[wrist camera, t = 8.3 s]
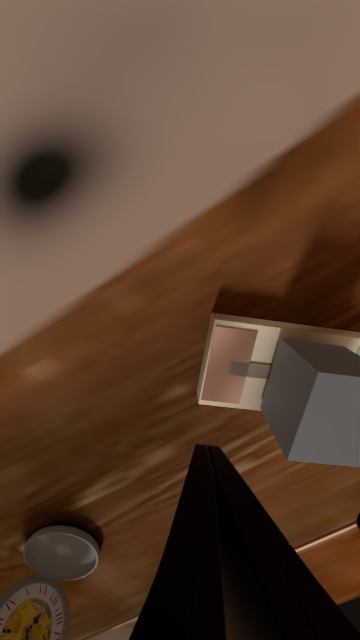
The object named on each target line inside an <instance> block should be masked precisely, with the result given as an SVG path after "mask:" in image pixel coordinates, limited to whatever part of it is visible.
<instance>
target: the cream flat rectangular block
mask: <svg viewBox="0 0 360 640" xmlns="http://www.w3.org/2000/svg"><path fill="white" fill-rule="evenodd" d="M280 338H284V339H292V340H300V341H308V342H315V343H323V344H331V345H339V346H344V347H346V348H348V349H349V350H351V351H353V352H354V353H356V354H358V355H359V356H360V332H353V331H346V330H339V329H331V328H324V327H316V326H309V325H301V324H294V323H286V322H279V321H271V320H264V319H256V318H249V317H241V316H234V315H226V314H219V313H211V317H210V322H209V328H208V333H207V338H206V344H205V349H204V354H203V359H202V365H201V370H200V375H199V381H198V386H197V397H198V404H204V405H213V406H222V407H231V408H240V409H250V410H259V411H261V409H260V406H261V403H262V399H263V396H264V393H265V389H266V386H267V382H268V379H269V375H270V372H271V368H272V365H273V361H274V358H275V354H276V351H277V347H278V344H279V341H280Z"/></svg>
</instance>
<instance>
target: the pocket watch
mask: <svg viewBox="0 0 360 640" xmlns="http://www.w3.org/2000/svg"><path fill="white" fill-rule="evenodd" d="M99 556H100V550H99V547H98V544H97V542H96V541H95V540H94V538H93V537H92V536H91V535H89V534H88V533H86V532H85V531H83V530H80V529H78V528H76V527H70V526H64V525H57V526H49V527H45V528H42V529H40V530H39V531H37V532H35V533H34V534H33V535H32V536H31V537H30V538H29V539H28V540H27V542H26V544H25V547H24V550H23V558H24V561H25V563H26V564H27V565H28V567H29V568H30V569H32V570H33V571H34V572H36V573H37V574H36V576H33V577H29V578H26V579H24V580H22V581H20V582H19V583H17V584H16V585H14V586H12V587H11V588H10V589H9V590H8V591H7V592H6V593H5V594H4V595H3V596H2V597H1V598H0V640H67V638H68V632H69V627H70V608H69V604H68V600H67V596H66V593H65V591H64V590H63V588H62V586H61V585H60V584H59V583H58V582H59V580H60V581H68V580H76V579H80V578H83V577H85V576H87V575H88V574H90V573H92V571H93V570H94V569H95V568H96V567H97V564H98V561H99ZM31 604H36V606H37V605H39V606H40V607H41V608H42V609H43V610H44V618H45V613H46V616H47V620H44V618H41V617H40V615H41V614H42V613H41V614H40V615H38V616H36V614H37V610H35V609H36V606H35V609H34V608H33V607H32V605H31ZM26 605H28V606H27V609H26ZM18 613H20V615H18ZM21 615H22V617H21ZM10 616H13V617H14V618H15V619H17V620H18V623H16V622H15V623H11V625H10V626H9V627H7V626H4V625H5V623H6V621H7V620H8V619H9V617H10ZM38 619H43V620H42V621H38ZM12 624H16V626H15V627H12ZM35 624H40V625H38V626H36V627H34V625H35ZM47 624H48V626H47V627H46V625H47ZM27 625H28V626H27ZM25 626H26V627H25ZM32 626H33V628H32ZM41 626H42V628H40V627H41ZM47 629H48V634H47V632H46V630H47ZM1 632H5V637H3V636H1ZM6 633H10V634H9V635H8V636H7V637H6ZM43 633H44V634H43ZM15 634H16V635H15ZM10 635H11V636H10ZM21 636H22V638H21Z"/></svg>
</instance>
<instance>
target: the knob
mask: <svg viewBox="0 0 360 640" xmlns="http://www.w3.org/2000/svg"><path fill="white" fill-rule="evenodd" d="M260 409H261V411H262V413H263V415H264V417H265V418H266V420H267V422H268V424H269V426H270V428H271V430H272V432H273V434H274V436H275V438H276V440H277V442H278V444H279V446H280V447H281V449H282V451H283V453H284V455H285V457H286V459H287V460H290V461H300V462H310V463H320V464H331V465H341V466H351V467H360V356H359V355H358V354H356V353H354V352H353V351H351V350H349V349H348V348H346V347H344V346H339V345H331V344H323V343H315V342H308V341H300V340H292V339H284V338H280V341H279V344H278V347H277V351H276V354H275V358H274V361H273V365H272V368H271V372H270V375H269V379H268V382H267V386H266V389H265V393H264V396H263V399H262V403H261V406H260Z"/></svg>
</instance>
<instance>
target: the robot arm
mask: <svg viewBox="0 0 360 640" xmlns="http://www.w3.org/2000/svg"><path fill="white" fill-rule="evenodd" d="M357 526H358V528H359V529H360V519H359V520H358V522H357ZM129 640H360V632H359V631H358V630H357V628H356V627H355V626H354V625H353V624H352V622H351V621H350V620H349V619H348V618H347V616H346V615H345V614H344V613H343V612H342V611H341V609H340V608H339V607H338V606H337V604H336V603H335V602H334V601H333V599H332V598H331V597H330V596H329V594H328V593H327V592H326V591H325V589H324V588H323V587H322V586H321V584H320V583H319V582H318V581H317V579H316V578H315V577H314V575H313V574H312V573H311V571H310V570H309V569H308V567H307V566H306V565H305V563H304V562H303V561H302V559H301V558H300V557H299V555H298V554H297V553H296V551H295V550H294V548H293V547H292V546H291V545H289V542H288V540H287V539H286V538H285V536H284V535H283V533H282V532H281V531H280V529H279V528H278V526H277V525H276V524H275V522H274V521H273V520H272V518H271V517H270V515H269V514H268V513H267V511H266V510H265V509H264V507H263V506H262V504H261V503H260V502H259V500H258V499H257V497H256V496H255V495H254V493H253V492H252V491H251V489H250V488H249V486H248V485H247V484H246V482H245V481H244V480H243V478H242V477H241V475H240V474H239V473H238V471H237V470H236V469H235V467H234V466H233V464H232V463H231V462H230V460H229V459H228V457H227V456H226V455H225V453H224V452H223V451H222V449H221V448H220V447H219V446H217V445H208V446H207V445H206V444H198V443H197V444H196V445H195V449H194V452H193V455H192V459H191V462H190V466H189V469H188V472H187V476H186V479H185V482H184V486H183V489H182V492H181V496H180V499H179V503H178V506H177V509H176V513H175V516H174V519H173V523H172V526H171V529H170V533H169V536H168V539H167V542H166V546H165V549H164V552H163V555H162V558H161V561H160V564H159V567H158V570H157V573H156V576H155V578H154V581H153V583H152V586H151V588H150V591H149V593H148V596H147V598H146V601H145V603H144V605H143V608H142V610H141V612H140V615H139V617H138V619H137V622H136V624H135V626H134V629H133V631H132V633H131V636H130V638H129Z"/></svg>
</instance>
